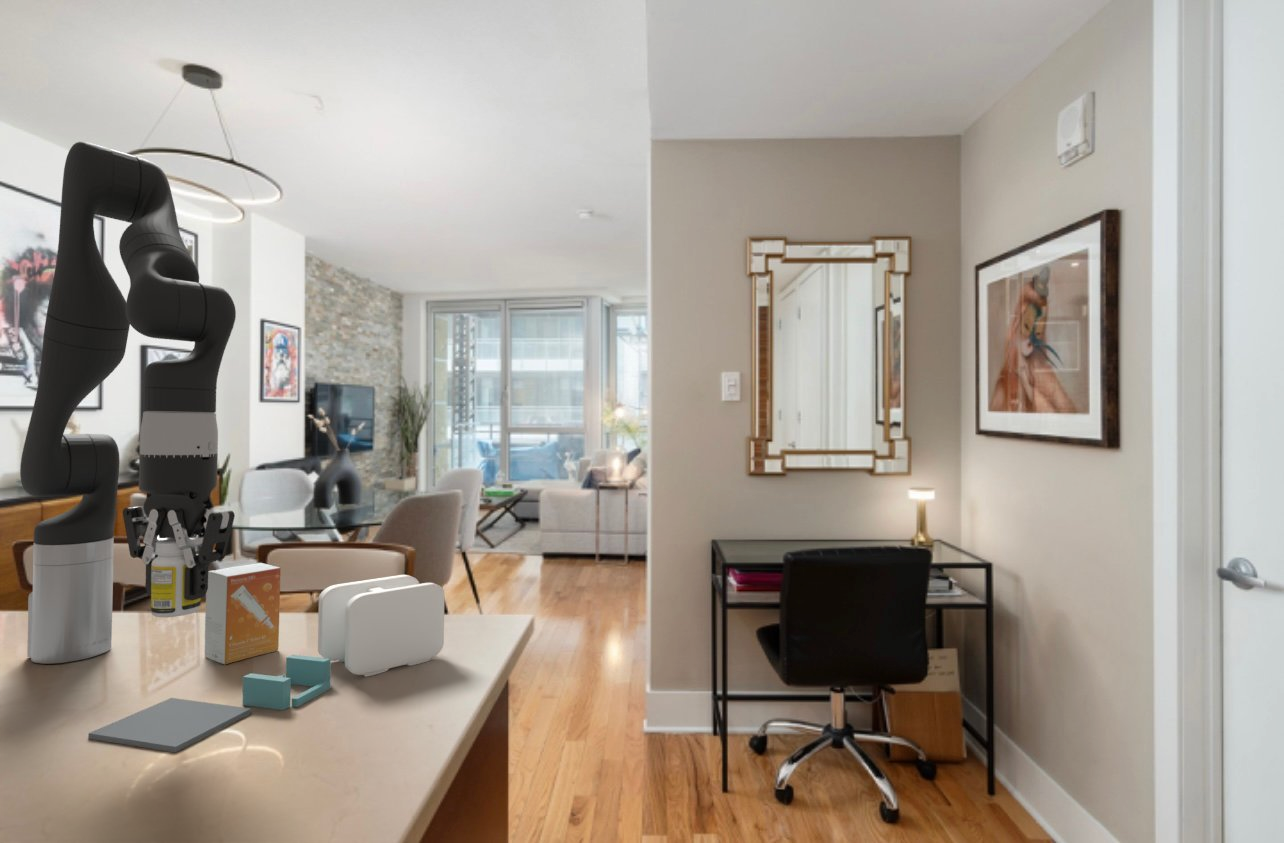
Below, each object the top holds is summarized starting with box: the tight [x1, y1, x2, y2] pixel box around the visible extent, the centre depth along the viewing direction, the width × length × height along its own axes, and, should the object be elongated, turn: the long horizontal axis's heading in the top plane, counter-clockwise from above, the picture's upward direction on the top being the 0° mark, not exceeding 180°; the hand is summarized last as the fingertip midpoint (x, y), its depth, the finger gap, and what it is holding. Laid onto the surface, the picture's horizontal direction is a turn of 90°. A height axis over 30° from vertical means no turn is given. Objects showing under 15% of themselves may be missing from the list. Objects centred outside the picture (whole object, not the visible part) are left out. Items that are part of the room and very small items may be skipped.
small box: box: [204, 562, 281, 665], centre depth 102 cm, size 8×6×13 cm
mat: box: [88, 697, 252, 753], centre depth 77 cm, size 12×10×1 cm
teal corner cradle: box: [242, 654, 331, 711], centre depth 87 cm, size 8×8×4 cm
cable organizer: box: [317, 574, 445, 677], centre depth 99 cm, size 15×11×12 cm
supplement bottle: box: [150, 537, 202, 618], centre depth 78 cm, size 5×5×8 cm
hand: (176, 596), depth 78 cm, fingers closed on supplement bottle, 4 cm apart
